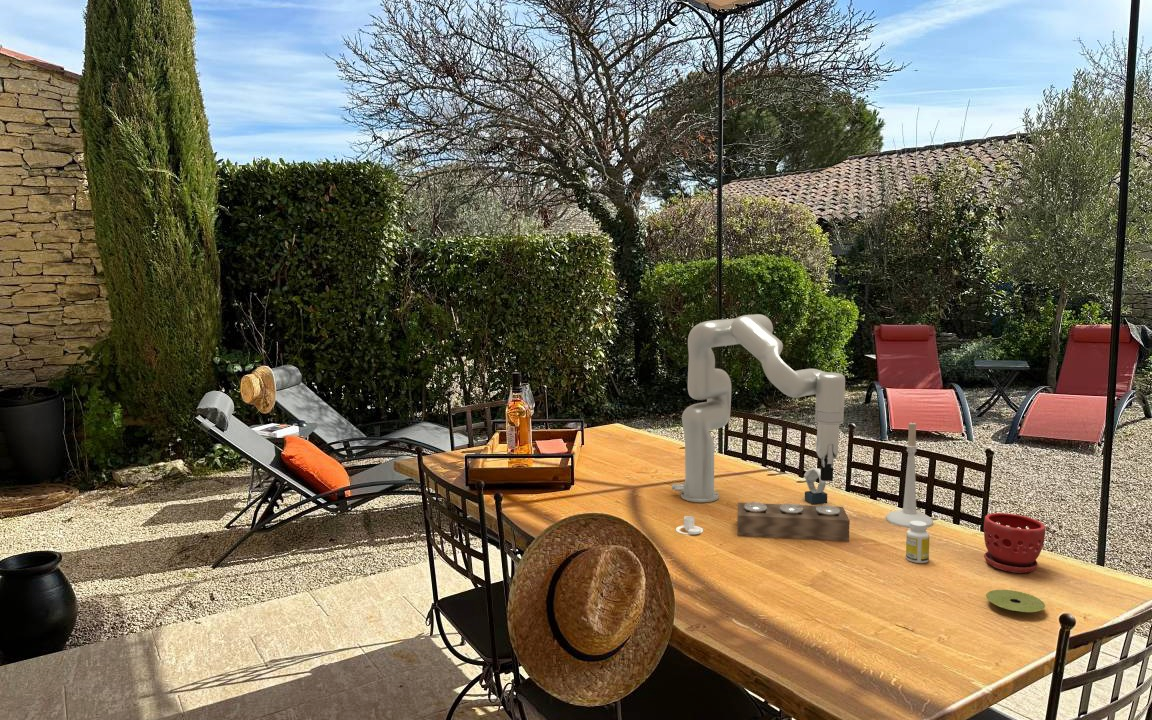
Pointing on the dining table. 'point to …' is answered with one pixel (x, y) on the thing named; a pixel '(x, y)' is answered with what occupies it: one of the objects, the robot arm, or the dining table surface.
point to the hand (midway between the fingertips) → (826, 479)
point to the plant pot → (1013, 542)
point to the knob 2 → (827, 510)
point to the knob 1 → (755, 507)
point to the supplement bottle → (917, 542)
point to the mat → (1015, 600)
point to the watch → (815, 494)
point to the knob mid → (791, 509)
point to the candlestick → (909, 489)
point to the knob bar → (793, 524)
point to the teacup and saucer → (689, 526)
